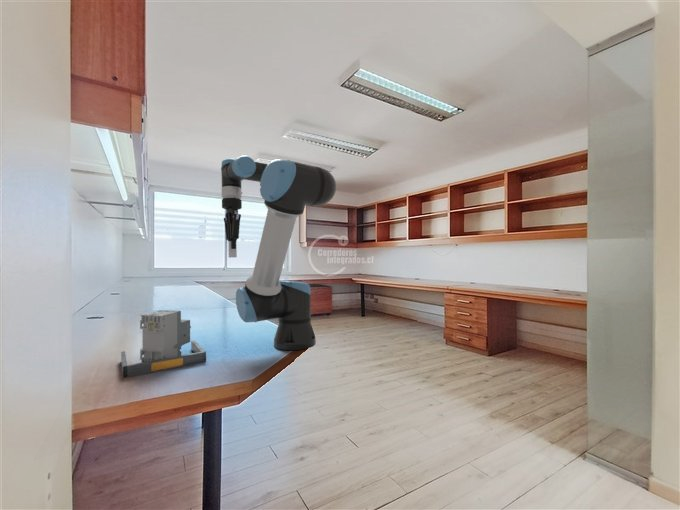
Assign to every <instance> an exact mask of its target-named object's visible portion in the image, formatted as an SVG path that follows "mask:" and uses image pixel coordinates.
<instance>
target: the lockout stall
mask: <svg viewBox="0 0 680 510" xmlns="http://www.w3.org/2000/svg"><path fill="white" fill-rule="evenodd" d="M190 346H191V347H190V349H191V351H192V352H193V353H187V354H183V355H182V354H181V356H175V357H170V358H164V359H159V360H153V361H148V362H142V363H141V362H137V363H131V364H128V361H127V354H126V351H124V350H123V351H121V352H120V363H121V373H123V374H122V379H125V378H130V377H137V376H141V375H142V376H143V375H147V374H151V373H157V372H161V371H166V370H171V369H177V368H181V367H186V366H191V365H197V364H202V363H205V362H207V351H206V350H205V349H204V348H203V347H202V346H201V345H200V344H199V343H198V342H197V341H196V340H190Z"/></svg>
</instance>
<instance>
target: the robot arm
mask: <svg viewBox="0 0 680 510" xmlns="http://www.w3.org/2000/svg"><path fill="white" fill-rule="evenodd" d="M220 170H221V198H222V199H221V208H222V209H224V210H226V213H225V217H223V222H224V230H225V231H224V232H225V240H226V241H228V242H227V243H228V250H227V251H228V258H237V257H238V256H237V254H238V253H237V252H238V251H237V241H238V239H239V238H240V226H241V225H240V224H241V218H242V214H240V213H239V210H242V207H243V206H242V203H243V202H242V195H243V191H242V181H244V180H245V181H251V182H258V183H259V186H260V188H259V192H260V196H261V197H262V199H263V200H264V202H263V204H264V206H265V207H266V209H267V213H266V216H265V221H264V225H263V228H262V229H263V230H262V234H261V238H260V242H259V245H258V251H257V255H256V258H255V263H254V267H253V271H252V275H251V276H249V277H247V279H246V281H245V283H244V286H240V287H239V288H237V289H236V291H235V305H236V309H237V312H238V315H239V318H240V320H242V321H243V322H245V323H258V322H263V321H269V320H270V321H271V320H276V319H278V324H277V328H276V332H275V335H274V338H273V346H274V348H276V349H278V350H282V351H300V350H305V349H309V348H313V347H314V346H315V345H317V344H316V341H317V340H316V334H315V331H314V329H313V325H312V323H311V322H312V320H311V319H312V317H311V316H312V313H311V312H312V310H311V307H312V306H311V305H312V304H311V300H312V299H311V296H312V292H311V286H310V284H309V283H308V282H301V281H292V280H280V278H281V276H282V275H281V274H282V271H283V266H284V264H285V261H286V257H287V252H288V250H289V246H290V243H291V238H292V235H293V231H294V229H295V228H294V227H295V224H296V222H297V218H298V217H300V216H302V215H303V213H304V211H305V208H306V206H311V207H313V206H314V207H319V206H324V205H326V204H328V203H329V202H331V200H332V199H333V198H334V196H335V194H336V191H337V182H336V179H335V177H334V175H333V174H332V173H331V172H330V171H328V170H327V169H326V168H323V167H320V166H314V165H310V164H306V163H302V162H297V161H293V160H290V159H280V158H278V159H273V160H271V162H269V163H265V162H261V161H256V160H254V159H253V158H252V157H250V156H249V155H240V156H239V157H236V158H225V159H223V160H222V161H221V167H220Z"/></svg>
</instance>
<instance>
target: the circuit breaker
mask: <svg viewBox="0 0 680 510" xmlns="http://www.w3.org/2000/svg"><path fill="white" fill-rule="evenodd" d="M191 328H192V325H191V319H183V318H182V311H181V310H167V309H166V310H163V309H161V310H155V311H152V312H147V313H144V314H140V320H139V330H142V347H141V348H140V350H139V356H140V357H139V360H140V361H141V362H140V363H142V362H148V361H153V360H159V359H164V358H170V357H175V356H181V355H182V351H181V349H182V346H184V345H187V344H189V343H191Z"/></svg>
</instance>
